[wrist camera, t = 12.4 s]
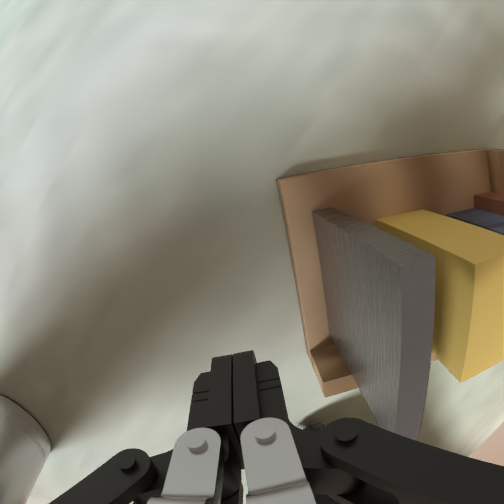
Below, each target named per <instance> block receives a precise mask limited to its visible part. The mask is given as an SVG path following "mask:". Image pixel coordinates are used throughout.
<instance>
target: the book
mask: <svg viewBox="0 0 504 504" xmlns="http://www.w3.org/2000/svg"><path fill="white" fill-rule="evenodd" d="M376 226H377V228H379V229H381V230H383V231H385V232H387V233H389V234H392V235H394V236H396V237H398V238H400V239H402V240H404V241H406V242H408V243H410V244H412V245H414V246H416V247H418V248H420V249H422V250H424V251H426V252H428V253H430V254H432V255H434V256H435V310H434V328H433V341H432V353H433V354H434V355H435V356H436V357H437V359H438V360H439V361H440V362H441V363H442V364H443V365H444V366H445V367H446V368H447V369H448V370H449V371H450V372H451V373H452V374H453V375H454V376H455V378H456V379H457V380H458V381H459V382H460V383H461V382H463V381H465V380H467V379H469V378H471V377H473V376H475V375H477V374H479V373H480V372H482V371H484V370H486V369H488V368H490V367H492V366H493V365H495V364H497V363H499V362H500V361H502V360H504V235H501V234H498V233H496V232H493V231H490V230H487V229H484V228H481V227H478V226H475V225H472V224H469V223H466V222H463V221H460V220H456V219H453V218H450V217H447V216H444V215H440V214H437V213H434V212H430V211H427V210H418V211H413V212H409V213H404V214H399V215H394V216H389V217H384V218H380V219H376Z"/></svg>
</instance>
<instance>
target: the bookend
mask: <svg viewBox="0 0 504 504" xmlns="http://www.w3.org/2000/svg"><path fill="white" fill-rule="evenodd" d="M312 216H313V222H314V228H315V234H316V241H317V247H318V253H319V260H320V267H321V274H322V281H323V288H324V295H325V303H326V311H327V319H328V327H329V335H330V337H331V339H332V341H333V342H334V344H335V346H336V348H337V350H338V351H339V353H340V355H341V357H342V359H343V360H344V362H345V364H346V366H347V368H348V369H349V371H350V373H351V375H352V377H353V379H354V380H355V382H356V384H357V386H358V388H359V389H360V391H361V393H362V395H363V397H364V399H365V401H366V402H367V404H368V406H369V408H370V410H371V412H372V414H373V415H374V417H375V419H376V421H377V423H378V425H379V427H380V428H383V429H385V430H388V431H390V432H393V433H396V434H399V435H401V436H404V437H407V438H410V439H413V440H415V441H416V440H418V436H419V432H420V427H421V422H422V416H423V411H424V405H425V399H426V393H427V386H428V378H429V371H430V362H431V352H432V341H433V328H434V310H435V256H434V255H432V254H430V253H428V252H426V251H424V250H422V249H420V248H418V247H416V246H414V245H412V244H410V243H408V242H406V241H404V240H402V239H400V238H398V237H396V236H394V235H392V234H389V233H387V232H385V231H383V230H381V229H379V228H377V227H375V226H373V225H370V224H368V223H366V222H364V221H362V220H360V219H357V218H355V217H353V216H351V215H349V214H346V213H344V212H342V211H340V210H337V209H335V208H333V207H330V208H325V209H320V210H315V211H312Z"/></svg>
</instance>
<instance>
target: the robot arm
mask: <svg viewBox="0 0 504 504" xmlns="http://www.w3.org/2000/svg"><path fill="white" fill-rule="evenodd" d="M191 402H192V403H191V406H190V413H189V420H188V427H187V432H185V433H184V434H182V435H181V436H180V437H179V438H178V439H177V441H176V443H175V445H174V449H172V450H171V451H168V452H165V453H162V454H159V455H156V456H152V457H149V456H148V455H147V453H146V452H144V451H142V450H140V449H126V450H123V451H121V452H119V453H117V454H116V455H115V456H113V457H112V458H111V459H109V460H108V461H107V462H106V463H104V464H103V465H102V466H100V467H99V468H98V469H96V470H95V471H94V472H92V473H91V474H90V475H88V476H87V477H86V478H84V479H83V480H81V481H80V482H79V483H77V484H76V485H75V486H73V487H72V488H70V489H69V490H68V491H66V492H65V493H63V494H62V495H61V496H59V497H58V498H56V499H55V500H53V501H52V502H50V503H49V504H129V503H131V502H132V501H133V502H134V503H133V504H243V485H242V482H241V469H245V473H246V480H247V486H248V494H247V495H246V504H316V502H315V499H314V496H313V494H328V496H329V497H330V498H332V499H333V500H335V501H337V502H339V503H341V504H504V466H500V465H496V464H492V463H488V462H484V461H480V460H477V459H473V458H469V457H466V456H462V455H459V454H456V453H452V452H449V451H446V450H443V449H439V448H436V447H433V446H430V445H427V444H424V443H421V442H418V441H415V440H413V439H410V438H407V437H404V436H401V435H399V434H396V433H393V432H390V431H388V430H385V429H383V428H380V427H377V426H375V425H372V424H370V423H367V422H365V421H362V420H360V419H356V418H343V419H339V420H336V421H334V422H332V423H330V424H329V425H327V426H326V427H325V428H324V429H323V431H307V430H302V429H299V428H297V427H295V426H294V425H293V424H292V423H291V422H290V421H289V419H288V414H287V409H286V404H285V400H284V395H283V390H282V386H281V381H280V377H279V372H278V368H277V367H276V366H275V365H274V364H273V363H272V362H271V361H265V362H260V363H257V362H256V358H255V354H254V351H253V350H251V351H246V352H241V353H236V354H233V355H232V354H231V355H226V356H220V357H214V358H212V363H211V372H206V373H201V374H200V375H199V377H198V378H197V379H196V381H195V382H194V386H193V395H192V399H191ZM50 450H51V444H50V441H49V439H48V436H47V435H46V433H45V432H44V430H43V429H42V428H41V426H40V425H39V424H38V423H37V422H36V420H35V419H34V418H33V417H32V416H31V415H30V414H28V413H27V412H26V411H25V410H24V409H23V408H21V407H20V406H19V405H17V404H16V403H14V402H13V401H11V400H9V399H8V398H6V397H3V396H1V395H0V504H26V502H27V500H28V497H29V495H30V493H31V491H32V489H33V486H34V484H35V482H36V480H37V478H38V476H39V474H40V472H41V470H42V468H43V465H44V463H45V461H46V459H47V457H48V455H49V453H50Z"/></svg>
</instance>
